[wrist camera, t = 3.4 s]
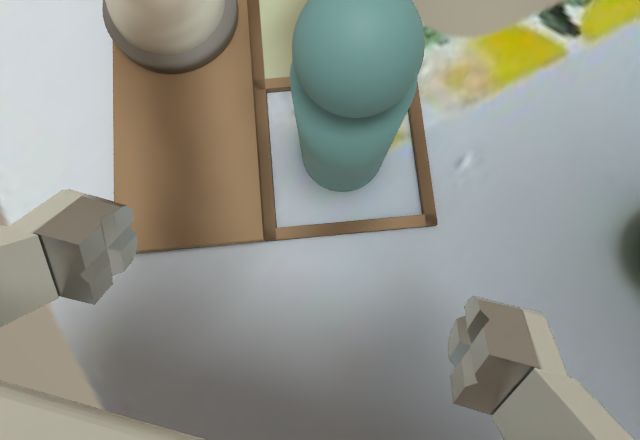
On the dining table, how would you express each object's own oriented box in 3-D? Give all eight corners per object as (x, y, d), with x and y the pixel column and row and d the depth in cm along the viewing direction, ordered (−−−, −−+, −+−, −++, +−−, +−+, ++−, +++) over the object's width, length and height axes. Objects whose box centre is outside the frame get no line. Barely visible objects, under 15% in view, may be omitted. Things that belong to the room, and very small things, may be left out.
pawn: (377, 111, 22) (437, -78, 10) (386, 187, 21) (462, 76, 10) (299, 118, 22) (272, -63, 10) (305, 194, 21) (284, 92, 10)
